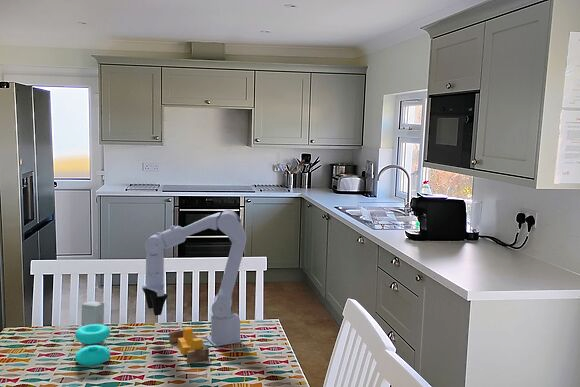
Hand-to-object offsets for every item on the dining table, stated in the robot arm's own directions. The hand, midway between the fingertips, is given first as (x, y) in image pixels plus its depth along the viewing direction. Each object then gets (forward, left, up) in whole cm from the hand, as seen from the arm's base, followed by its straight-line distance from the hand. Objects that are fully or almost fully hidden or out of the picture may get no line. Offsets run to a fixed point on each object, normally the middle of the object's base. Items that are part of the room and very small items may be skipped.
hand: (154, 311), depth 182 cm
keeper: (-7, +13, -10) cm, 18 cm away
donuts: (+21, +8, -10) cm, 25 cm away
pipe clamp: (-7, +15, -10) cm, 20 cm away
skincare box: (+18, -10, -10) cm, 23 cm away
